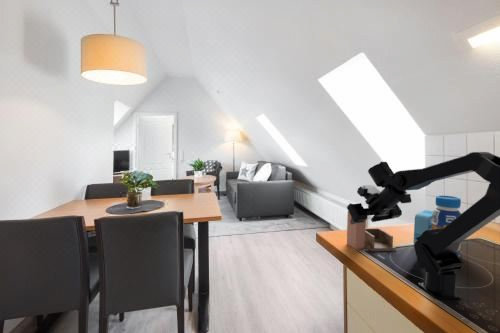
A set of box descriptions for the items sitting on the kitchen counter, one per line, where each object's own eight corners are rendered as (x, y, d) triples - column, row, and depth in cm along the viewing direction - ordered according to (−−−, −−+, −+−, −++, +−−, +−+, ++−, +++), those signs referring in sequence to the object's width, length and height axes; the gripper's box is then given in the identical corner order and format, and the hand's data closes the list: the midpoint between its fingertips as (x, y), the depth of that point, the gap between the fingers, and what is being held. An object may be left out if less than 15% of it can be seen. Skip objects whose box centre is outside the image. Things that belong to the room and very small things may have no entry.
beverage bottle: (433, 246, 93) (436, 193, 91) (462, 253, 87) (466, 197, 85) (427, 253, 87) (430, 197, 86) (457, 261, 81) (461, 201, 79)
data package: (427, 249, 90) (428, 217, 89) (413, 245, 94) (414, 214, 93) (438, 241, 98) (439, 211, 97) (424, 238, 101) (426, 209, 100)
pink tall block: (364, 247, 92) (365, 213, 91) (355, 249, 91) (356, 214, 90) (355, 242, 97) (356, 210, 96) (346, 244, 96) (347, 211, 95)
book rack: (396, 250, 89) (396, 237, 89) (371, 251, 89) (371, 237, 89) (380, 240, 99) (381, 228, 99) (358, 240, 99) (358, 228, 99)
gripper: (396, 177, 87) (371, 201, 98) (351, 179, 81) (330, 205, 93) (416, 204, 80) (386, 227, 91) (368, 209, 74) (343, 232, 86)
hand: (361, 222), depth 91 cm, fingers open, 9 cm apart
